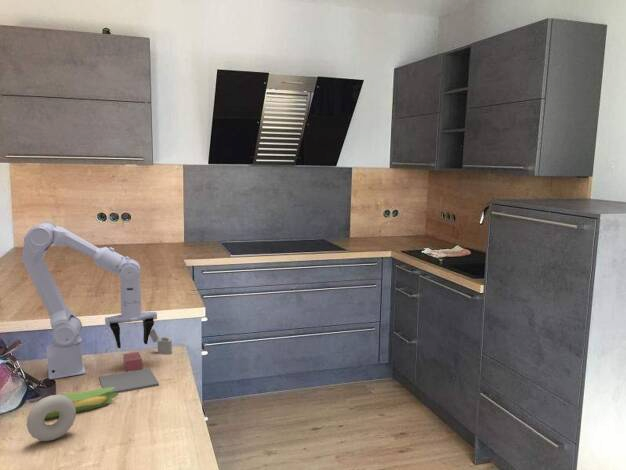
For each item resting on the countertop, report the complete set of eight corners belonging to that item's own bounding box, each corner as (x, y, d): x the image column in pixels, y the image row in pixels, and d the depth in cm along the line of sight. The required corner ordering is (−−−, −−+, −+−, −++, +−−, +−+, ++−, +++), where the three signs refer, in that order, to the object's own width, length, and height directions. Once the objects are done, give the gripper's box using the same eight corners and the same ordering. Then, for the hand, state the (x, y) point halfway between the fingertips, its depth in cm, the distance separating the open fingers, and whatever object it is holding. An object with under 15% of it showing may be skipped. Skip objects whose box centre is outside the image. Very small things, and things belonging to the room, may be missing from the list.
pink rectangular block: (126, 372, 151) (126, 361, 150) (123, 364, 156) (123, 353, 156) (141, 370, 153) (141, 358, 152) (138, 362, 158) (138, 351, 158)
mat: (104, 395, 135) (104, 393, 135) (99, 378, 145) (99, 376, 145) (158, 385, 142) (158, 383, 142) (149, 370, 152) (149, 368, 152)
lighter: (171, 352, 167) (171, 328, 166) (170, 354, 165) (169, 330, 164) (150, 351, 167) (149, 328, 166) (148, 353, 166) (148, 329, 165)
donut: (73, 428, 118) (71, 387, 117) (79, 434, 115) (77, 392, 114) (25, 444, 111) (23, 400, 110) (30, 450, 108) (28, 405, 107)
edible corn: (31, 398, 123) (32, 400, 120) (118, 383, 134) (122, 384, 130) (32, 420, 123) (33, 423, 119) (119, 403, 134) (123, 405, 130)
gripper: (106, 307, 145) (108, 353, 147) (158, 301, 152) (160, 345, 154) (103, 301, 151) (105, 345, 153) (153, 296, 158) (154, 338, 160)
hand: (132, 345), depth 154 cm, fingers open, 7 cm apart
